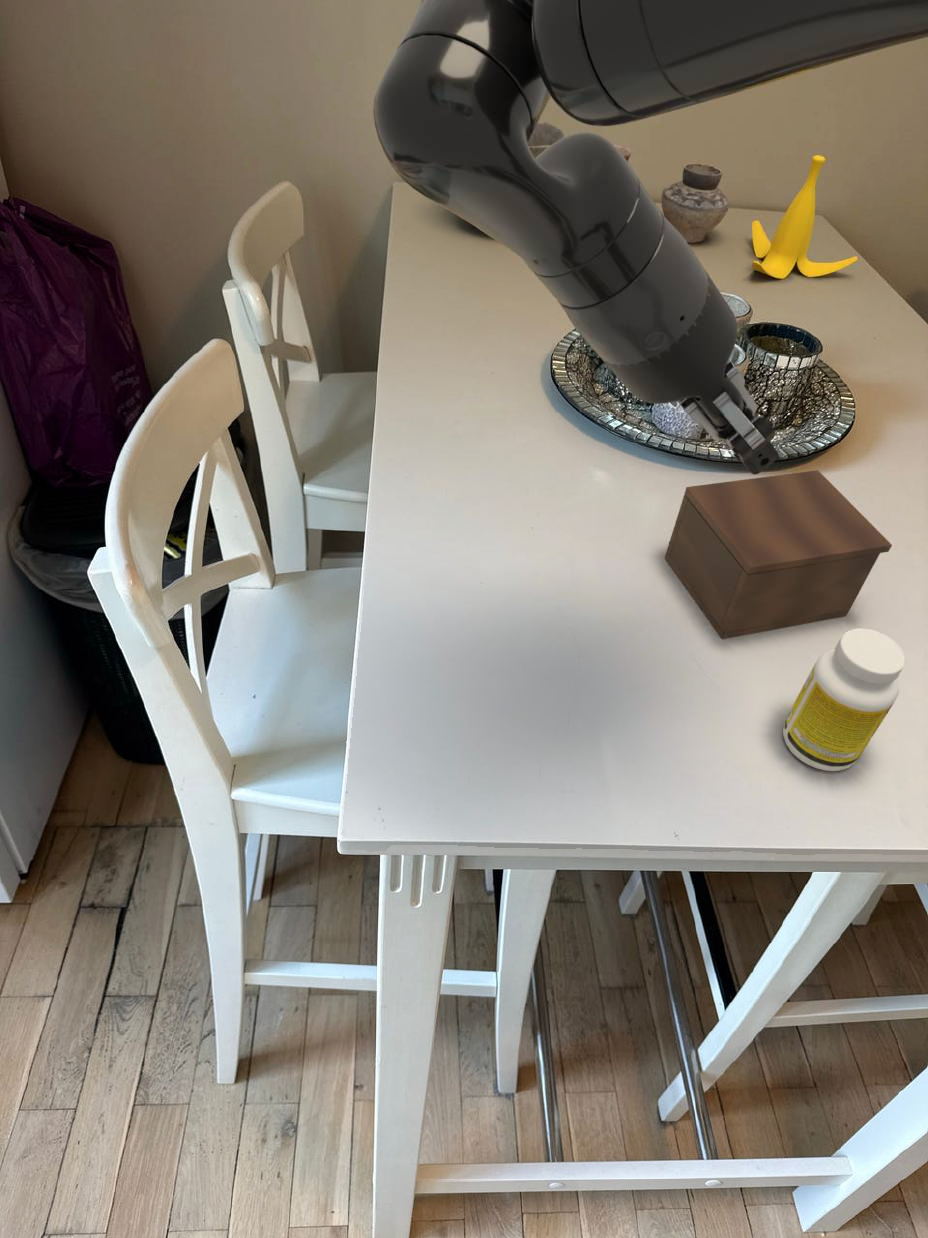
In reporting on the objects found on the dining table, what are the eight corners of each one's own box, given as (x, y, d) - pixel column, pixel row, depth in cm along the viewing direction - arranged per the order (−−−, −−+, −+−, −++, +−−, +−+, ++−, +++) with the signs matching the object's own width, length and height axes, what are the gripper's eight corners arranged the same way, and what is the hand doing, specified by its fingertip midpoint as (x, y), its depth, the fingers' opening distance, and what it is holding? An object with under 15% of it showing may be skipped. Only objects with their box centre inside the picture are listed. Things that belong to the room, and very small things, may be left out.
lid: (815, 476, 86) (818, 469, 85) (888, 551, 78) (892, 544, 78) (684, 493, 82) (686, 486, 82) (747, 574, 74) (750, 567, 74)
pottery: (574, 210, 154) (586, 135, 146) (716, 228, 154) (736, 154, 145) (572, 234, 146) (584, 156, 138) (722, 253, 146) (744, 176, 137)
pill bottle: (867, 776, 70) (929, 685, 62) (791, 771, 70) (844, 679, 62) (844, 716, 74) (900, 623, 67) (773, 711, 74) (820, 617, 66)
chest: (781, 539, 91) (807, 477, 86) (846, 616, 83) (880, 553, 78) (664, 557, 88) (684, 494, 82) (721, 639, 80) (747, 575, 74)
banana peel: (750, 239, 151) (782, 132, 139) (852, 277, 143) (895, 166, 131) (698, 263, 142) (728, 150, 130) (804, 305, 133) (846, 189, 122)
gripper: (757, 311, 46) (862, 479, 58) (647, 216, 55) (758, 378, 66) (643, 410, 48) (766, 552, 60) (556, 303, 57) (678, 445, 69)
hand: (761, 460), depth 63 cm, fingers closed
